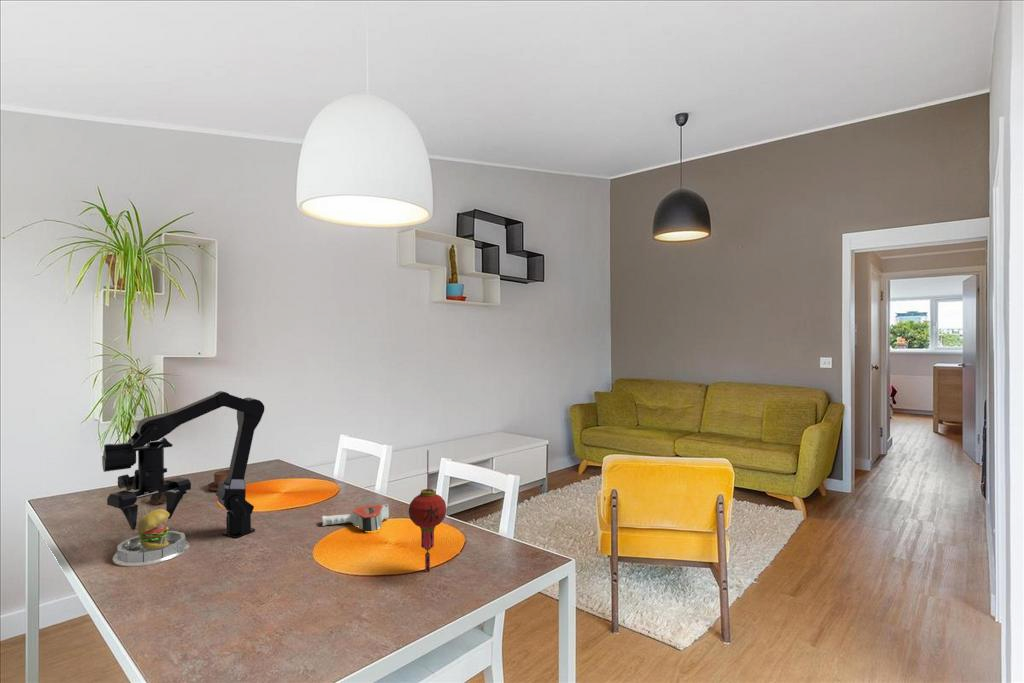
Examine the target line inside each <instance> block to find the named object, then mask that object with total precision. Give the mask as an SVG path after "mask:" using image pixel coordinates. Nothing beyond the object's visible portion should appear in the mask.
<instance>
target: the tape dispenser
mask: <svg viewBox="0 0 1024 683" xmlns="http://www.w3.org/2000/svg"><path fill="white" fill-rule="evenodd" d="M366 509H368V513H367V512H366V511H365V510H366ZM389 511H390V510H389V504H386V503H385V504H378V505H375V504H374V505H366V506H359V507H354V508H353V510H352V513H350V514H334V515H322V517H321V521H322V522H321V523H322V527H325V526H328V525H339V524H340V525H341V524H345V523H352V525H354V526H359V528H361V529H360V530H362V531H374V530H378V529H379V528H381V527H382V523H383V522H384V519H389V517H390V514H389V513H390V512H389ZM382 521H383V522H382ZM354 526H353V527H354Z"/></svg>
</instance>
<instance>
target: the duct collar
mask: <svg viewBox="0 0 1024 683" xmlns="http://www.w3.org/2000/svg"><path fill="white" fill-rule="evenodd" d="M167 533H168V534H167V536H166V537H165V539H166V538H167V541H168V542H169V545H168V546H165V547H162V548H158V549H153V550H150V549H147V548H145V547H143V546H142V545H141V543H140V540H139V537H140V536H139V535H136V536H132V537H130V538H128V539H125V540H124V541H122V542H121V543H119V544H117V549H116V553H114V554H113V556H112V563H113V564H114V565H116V566H120V567H127V568H129V567H131V568H132V567H144V566H151V565H156V564H157V565H158V564H160V562H161V563H164V562H168V561H170V560H173V559H175V558H178V557H180V556H182V555H184V554H185V553H186V552H188V550H189V548H190V543H189V541H187V540H186V535H185V533H184V532H180V531H177V530H167ZM163 538H164V537H162V539H163Z"/></svg>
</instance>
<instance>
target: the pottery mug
mask: <svg viewBox="0 0 1024 683" xmlns="http://www.w3.org/2000/svg"><path fill="white" fill-rule="evenodd" d="M166 480H167V479H164V483H165V482H166ZM155 491H156V490H155ZM183 497H184V496H183ZM183 497H182V498H181V500H182V499H183ZM160 502H161V503H163V504H164V503H166V496H165V493H164V492H162V493H158V494H154V495H150V499H149V503H150V504H153V505H157V506H158V505H160Z"/></svg>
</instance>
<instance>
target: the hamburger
mask: <svg viewBox="0 0 1024 683" xmlns="http://www.w3.org/2000/svg"><path fill="white" fill-rule="evenodd" d="M143 508H144V511H145V512H146V514H144V515H143V516H142V517H141V519H139V521H138V522H137V525H136V527H137V528H136V529H137V531H138V536H140V537H139V540H140V543H141V545H142V546H143V547H145V548H147V549H150V550H153V549H158V548H162V547H165V546H168V545H169V542H168V541H167V538H166V539H165V537H166V536H167V534H168V533H167V531H169V527H168V526H167V522H168V519H167V518H168V517H169V515H170V514H169V512H168V511H166V509H164V508H163V509H162V508H159V509H155V510H152V511H149V512H147V509H146V507H145V506H144V507H143ZM163 523H165V524H163ZM162 537H164V538H163V539H162Z"/></svg>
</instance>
